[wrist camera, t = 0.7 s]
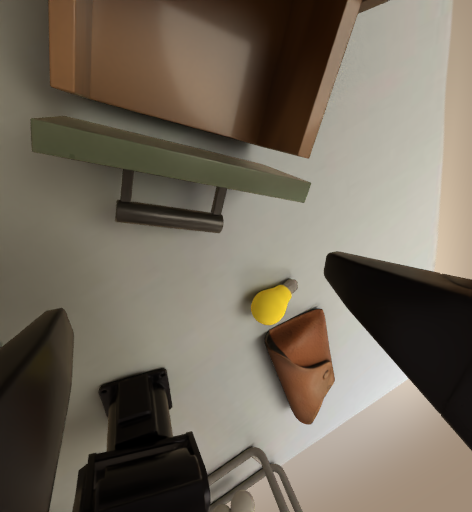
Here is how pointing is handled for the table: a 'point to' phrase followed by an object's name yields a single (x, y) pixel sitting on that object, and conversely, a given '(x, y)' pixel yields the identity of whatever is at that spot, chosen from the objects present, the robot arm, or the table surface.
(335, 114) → the table surface
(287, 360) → the sunglasses case
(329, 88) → the drawer
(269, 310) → the light bulb
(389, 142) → the table surface
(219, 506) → the newton's cradle
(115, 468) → the robot arm
